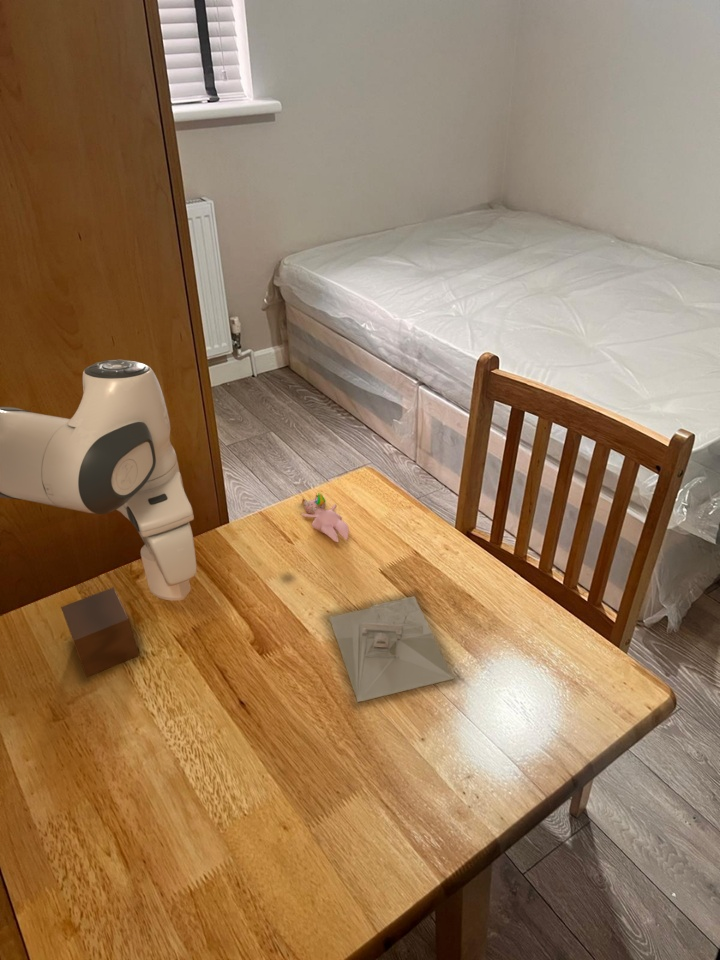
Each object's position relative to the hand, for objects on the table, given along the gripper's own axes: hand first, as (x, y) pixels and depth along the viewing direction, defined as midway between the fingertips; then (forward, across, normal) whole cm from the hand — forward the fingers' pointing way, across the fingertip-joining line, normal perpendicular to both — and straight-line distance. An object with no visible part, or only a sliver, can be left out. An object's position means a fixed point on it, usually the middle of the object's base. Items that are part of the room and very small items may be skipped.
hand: (164, 567), depth 98 cm
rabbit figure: (+10, -7, +28) cm, 31 cm away
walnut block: (+10, 0, -10) cm, 14 cm away
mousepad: (+10, +15, +22) cm, 28 cm away
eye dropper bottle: (+5, 0, 0) cm, 5 cm away
